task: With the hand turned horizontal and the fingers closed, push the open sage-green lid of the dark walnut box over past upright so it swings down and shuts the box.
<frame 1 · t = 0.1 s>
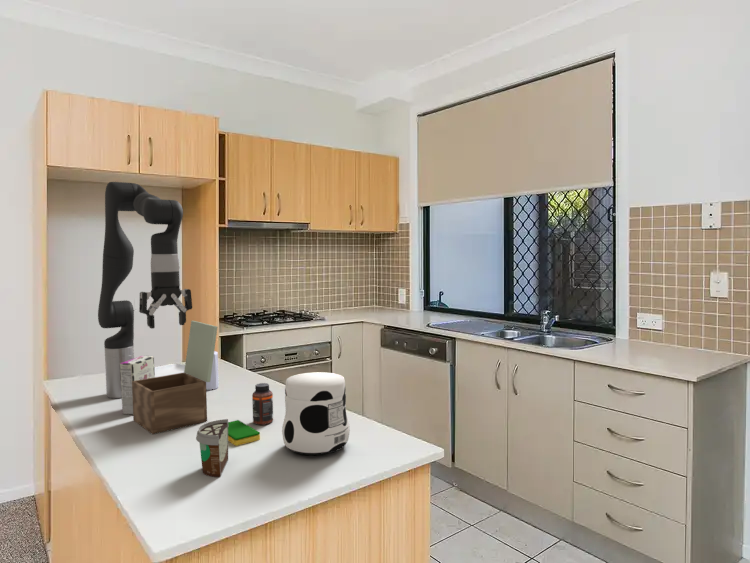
hand: (167, 326, 154), 29 cm above the counter, tool pointing down, fingers open, 8 cm apart
walnut box: (170, 420, 161), on the counter
supplement bottle: (263, 422, 159), on the counter
dish sponge: (237, 437, 148), on the counter
food container: (211, 469, 126), on the counter
lid: (200, 350, 166), point 20 cm above the counter, hinge at 100.0°
salad plate: (170, 379, 213), on the counter
soap bottle: (203, 387, 199), on the counter
candy bar box: (139, 410, 172), on the counter
milk container: (316, 448, 139), on the counter
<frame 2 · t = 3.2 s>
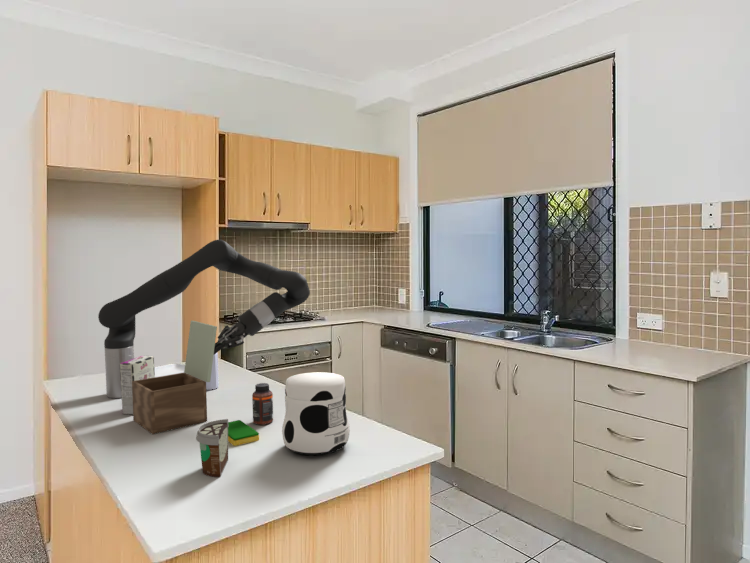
hand: (210, 352, 164), 20 cm above the counter, tool tilted 55°, fingers closed
lid: (200, 350, 166), point 20 cm above the counter, hinge at 99.4°
everything else where it was.
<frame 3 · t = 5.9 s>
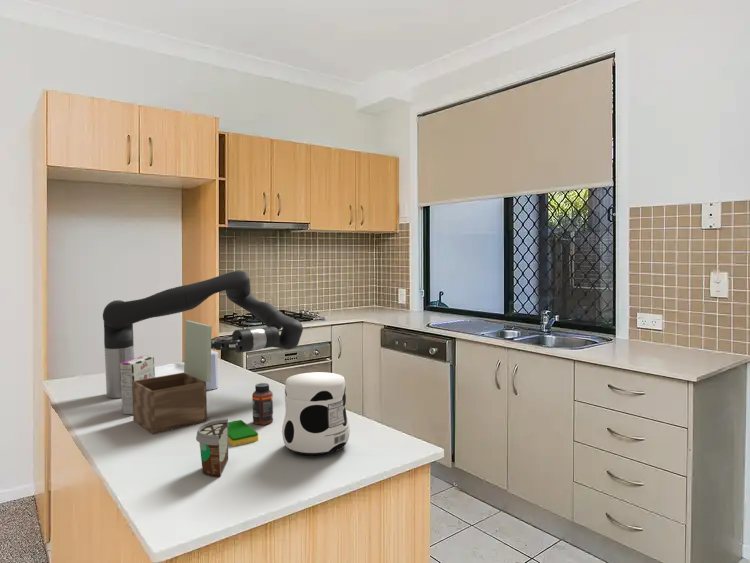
hand: (199, 346, 166), 21 cm above the counter, tool horizontal, fingers closed
lid: (197, 350, 165), point 20 cm above the counter, hinge at 93.3°, touching gripper
everything else where it was.
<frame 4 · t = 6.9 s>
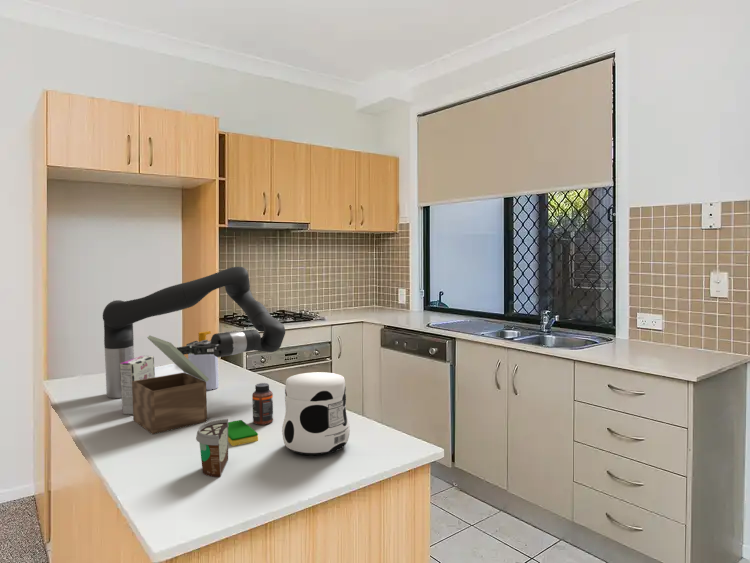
hand: (176, 351, 161), 21 cm above the counter, tool horizontal, fingers closed
lid: (177, 358, 161), point 19 cm above the counter, hinge at 48.3°, touching gripper
everything else where it was.
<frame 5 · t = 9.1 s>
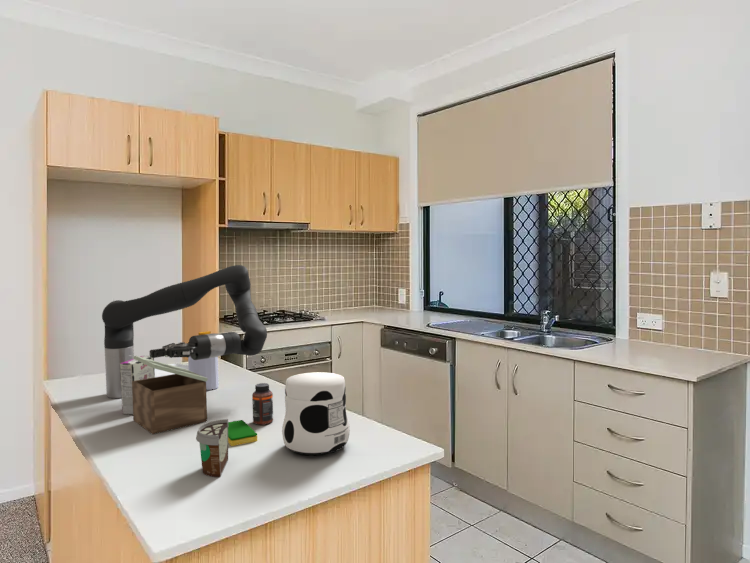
hand: (150, 354, 156), 21 cm above the counter, tool horizontal, fingers closed
lid: (170, 368, 160), point 16 cm above the counter, hinge at 23.3°
everything else where it was.
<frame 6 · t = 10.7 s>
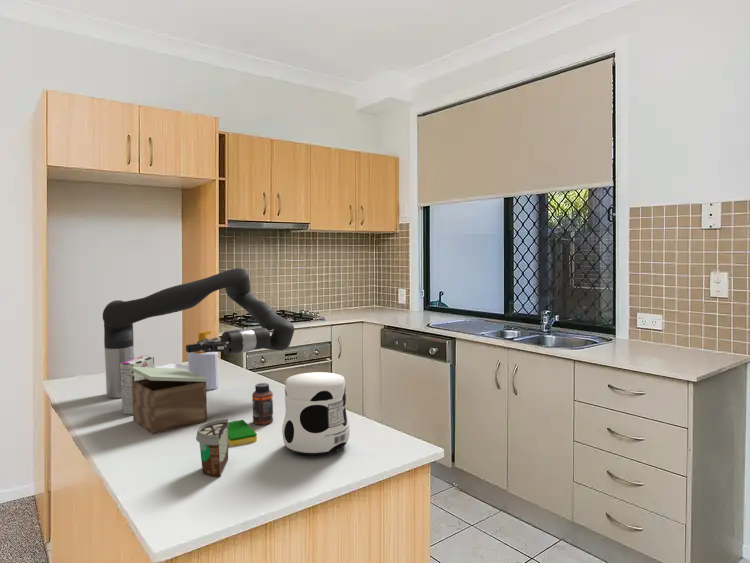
hand: (186, 349, 163), 21 cm above the counter, tool horizontal, fingers closed
lid: (168, 374, 160), point 14 cm above the counter, hinge at 11.5°
everything else where it was.
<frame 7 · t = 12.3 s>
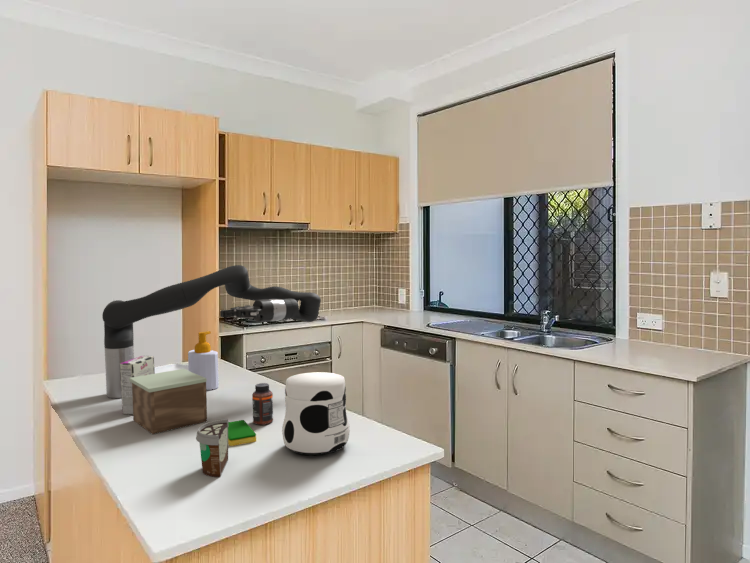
hand: (221, 313, 170), 31 cm above the counter, tool horizontal, fingers closed
lid: (167, 379, 160), point 13 cm above the counter, hinge at -0.1°
everything else where it was.
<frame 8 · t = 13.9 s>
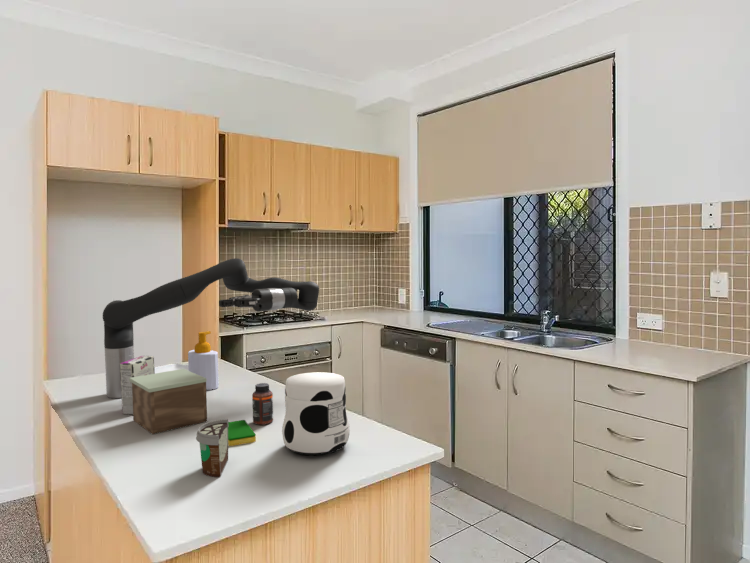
hand: (220, 303, 170), 34 cm above the counter, tool horizontal, fingers closed
nothing on the counter moved.
at the end: lid at +0° (first picture: +100°); candy bar box moved 0.2 cm from its start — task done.
